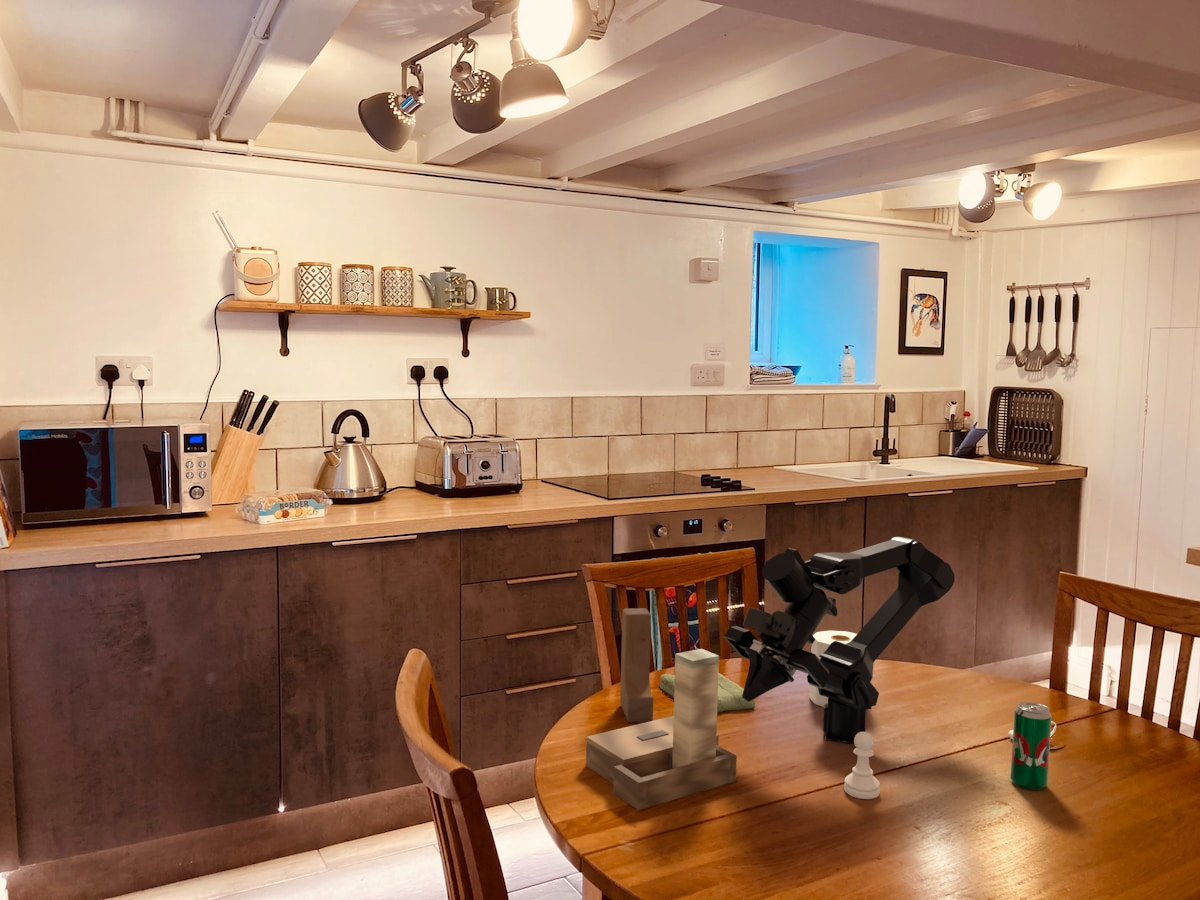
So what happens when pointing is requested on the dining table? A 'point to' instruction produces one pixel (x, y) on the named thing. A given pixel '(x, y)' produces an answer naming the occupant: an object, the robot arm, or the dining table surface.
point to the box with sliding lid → (653, 764)
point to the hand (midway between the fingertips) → (745, 699)
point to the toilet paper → (820, 647)
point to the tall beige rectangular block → (695, 707)
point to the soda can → (1031, 746)
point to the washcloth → (727, 693)
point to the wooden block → (636, 666)
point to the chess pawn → (862, 770)
